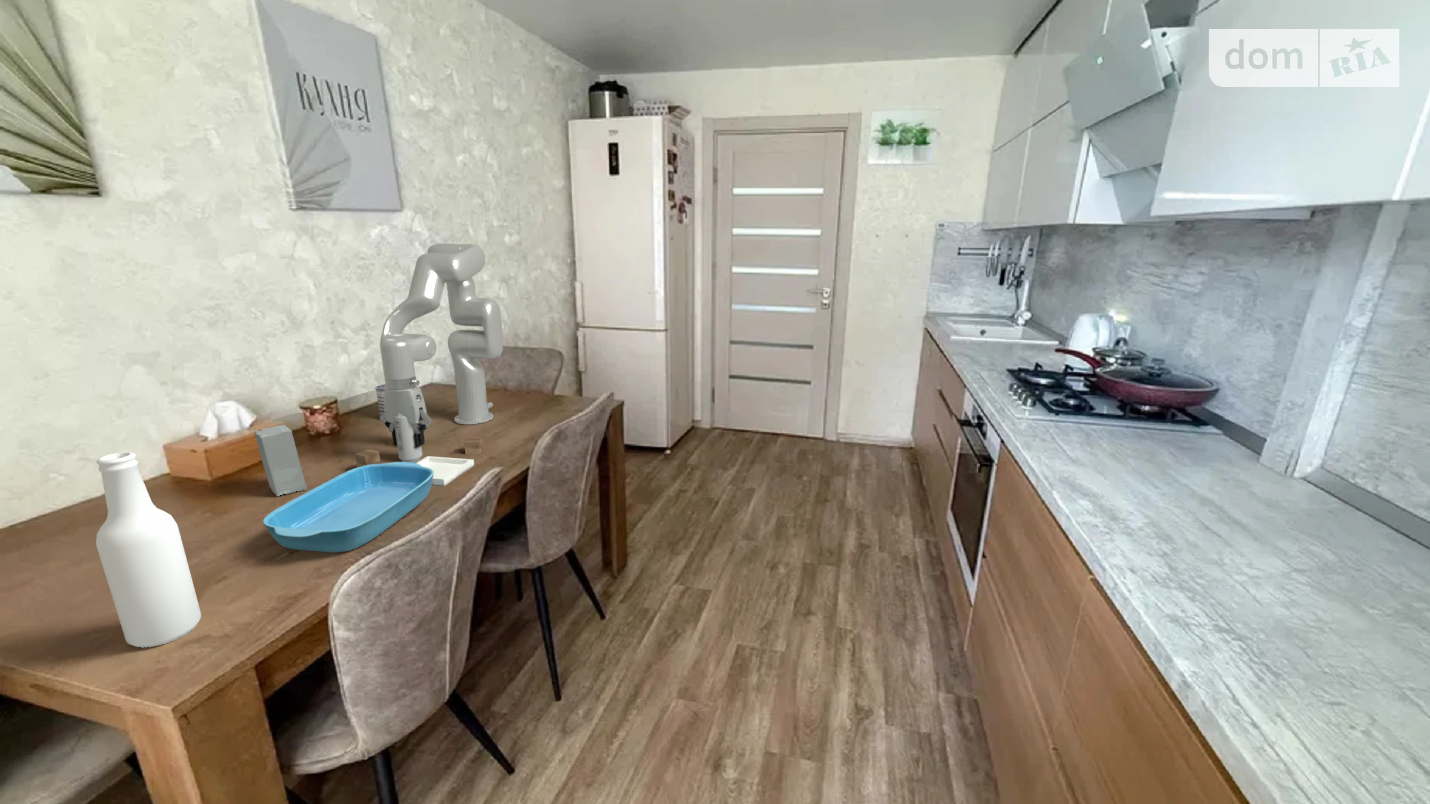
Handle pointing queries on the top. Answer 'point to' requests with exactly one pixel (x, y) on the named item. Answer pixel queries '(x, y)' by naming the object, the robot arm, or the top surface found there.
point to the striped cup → (380, 397)
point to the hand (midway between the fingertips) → (409, 444)
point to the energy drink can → (406, 440)
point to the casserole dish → (350, 507)
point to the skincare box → (280, 460)
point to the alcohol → (143, 559)
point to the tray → (446, 468)
